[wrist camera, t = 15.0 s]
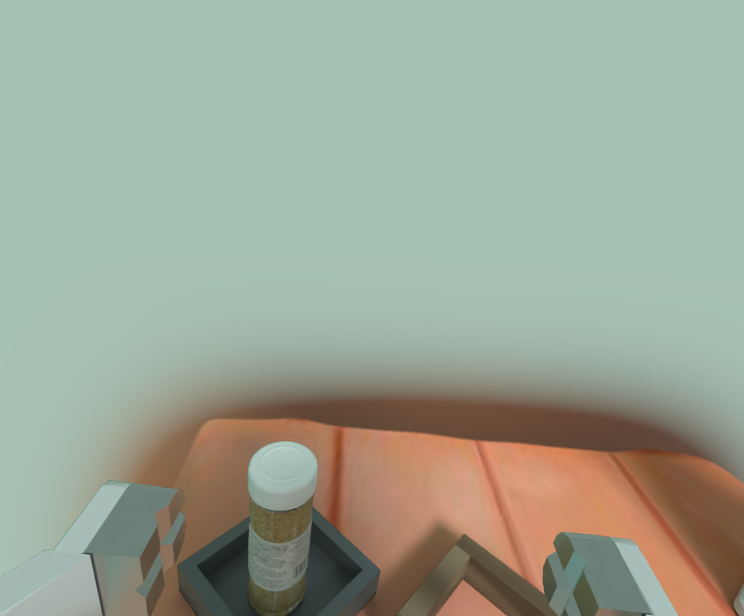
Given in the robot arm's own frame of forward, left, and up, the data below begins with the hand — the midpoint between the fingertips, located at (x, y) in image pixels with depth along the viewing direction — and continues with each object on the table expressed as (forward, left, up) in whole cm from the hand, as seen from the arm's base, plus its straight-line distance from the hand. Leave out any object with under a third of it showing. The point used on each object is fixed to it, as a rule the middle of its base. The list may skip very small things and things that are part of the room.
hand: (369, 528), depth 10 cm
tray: (-9, -13, -28) cm, 32 cm away
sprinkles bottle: (-9, -13, -27) cm, 32 cm away
